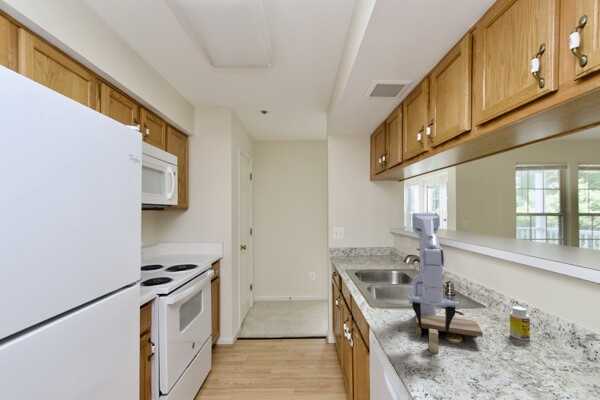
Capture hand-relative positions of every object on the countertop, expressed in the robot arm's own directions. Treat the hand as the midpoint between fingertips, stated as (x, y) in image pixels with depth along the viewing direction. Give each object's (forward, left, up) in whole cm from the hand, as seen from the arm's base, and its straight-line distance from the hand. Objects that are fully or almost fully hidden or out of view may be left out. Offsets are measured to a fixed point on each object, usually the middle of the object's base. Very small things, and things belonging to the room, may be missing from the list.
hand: (433, 328), depth 88 cm
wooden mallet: (-5, 0, -7) cm, 8 cm away
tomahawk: (-47, +7, -7) cm, 48 cm away
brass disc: (-11, +7, -7) cm, 15 cm away
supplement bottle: (-22, +29, -7) cm, 37 cm away
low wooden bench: (-13, +5, -7) cm, 16 cm away
